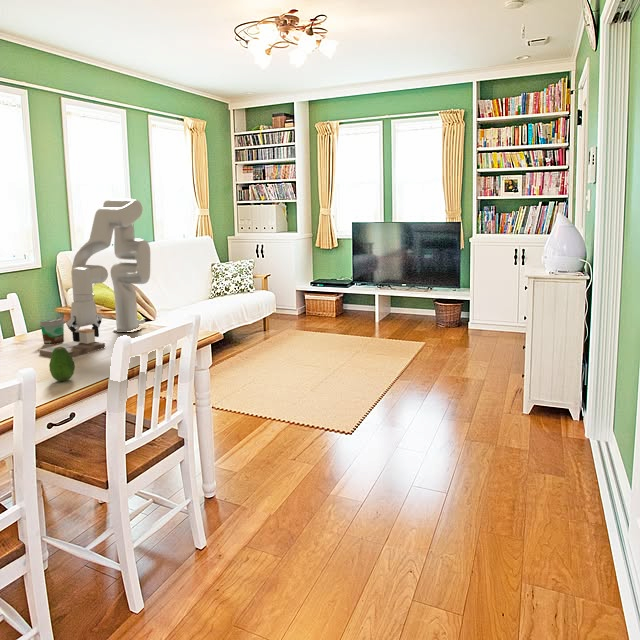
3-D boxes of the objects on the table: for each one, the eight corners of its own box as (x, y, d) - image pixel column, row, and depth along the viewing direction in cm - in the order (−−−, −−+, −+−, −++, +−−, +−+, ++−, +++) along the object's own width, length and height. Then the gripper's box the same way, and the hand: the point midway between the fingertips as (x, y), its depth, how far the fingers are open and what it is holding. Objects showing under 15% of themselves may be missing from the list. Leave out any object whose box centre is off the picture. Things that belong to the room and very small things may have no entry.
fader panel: (81, 343, 247) (81, 339, 246) (105, 347, 240) (104, 342, 240) (39, 354, 229) (39, 349, 229) (64, 359, 223) (63, 354, 223)
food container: (54, 346, 243) (52, 322, 241) (41, 345, 244) (39, 322, 242) (72, 339, 254) (71, 316, 252) (60, 338, 256) (58, 316, 254)
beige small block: (86, 340, 243) (85, 328, 242) (95, 341, 241) (94, 329, 240) (78, 342, 240) (77, 329, 239) (87, 343, 237) (86, 331, 236)
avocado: (45, 383, 194) (42, 348, 192) (59, 376, 202) (56, 343, 199) (67, 385, 193) (64, 350, 190) (81, 378, 201) (78, 344, 198)
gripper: (93, 294, 246) (96, 333, 249) (58, 300, 231) (62, 342, 234) (106, 295, 242) (109, 335, 246) (71, 301, 227) (75, 344, 231)
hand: (86, 338), depth 240 cm, fingers open, 9 cm apart
